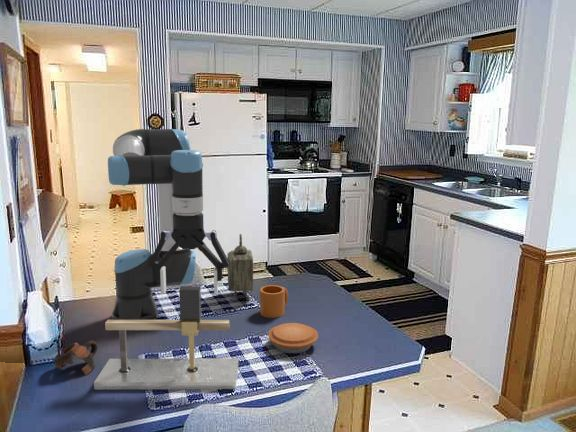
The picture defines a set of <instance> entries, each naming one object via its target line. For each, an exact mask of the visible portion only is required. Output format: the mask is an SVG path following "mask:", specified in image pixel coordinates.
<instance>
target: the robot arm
mask: <svg viewBox="0 0 576 432" xmlns="http://www.w3.org/2000/svg"><path fill="white" fill-rule="evenodd" d="M112 153H113V155H110V156H108V158H107V172H108V183H109V184H110V185H111V186H123V187H125V186H135V185H138V186H139V185H157V195H158V196H157V197H158V200H157V201H158V219H159V241H158V243H157V245H156V247H155V249H154V252H153V253H152V252H151V251H150V250H149V249H146V248H145V249H144V248H143V249H142V248H140V249H132V250H128V251H125V252H122V253H121V254H118V255H117V257H116V258H115V260H114V270H113V272H114V273H115V275H114V276H115V297H116V299H115V302H114V306H113V309H112V313H111V316H112V317H111V320H157V318H158V316H159V310H158V306H157V304H156V301H155V299H154V296H153V288H160V294H161V295H164V294H165V293H166V292H167V287H172V286H179V287H181V286H182V285H183V286H184V285H188V284H190V283H192V281H193V280H194V277H195V271H196V253H195V251H194V250H196V249H197V250H199V251H200V252H201V253H202V254H203V255H204V256H205V258H207V259H208V261H209V262H210V263H211V264H212V265H213V266H214V269H213V288H214V289H213V291H214V292H213V294H214V295H218V293H219V282H221V281H222V280H223V269H224V268H226V269H228V266H229V260H228V258H227V254H226V253H225V251H224V249H223V248H222V245H221V244H220V242H219V240H218V238H217V231H216V230H215V229H214V230H212V231H205V227H204V214H203V211H204V195H203V194H204V193H203V192H204V191H203V189H204V188H203V186H204V185H203V167H204V163H203V155H202V153H201V152H200V151H199V150H195V149H191V145H190V140H189V138H188V135H187V132H185V131H184V130H182V129H174V128H170V129H169V128H165V129H164V128H163V129H162V128H161V129H160V128H157V129H156V128H153V129H152V128H151V129H150V128H147V129H146V128H139V129H137V128H136V129H133V130H130V131H127V132H125V133H123V134H120V135H118V137H117V138H116V139H115V140H114V143H113V145H112ZM205 238H207V239H208V240H209V241H210V242H211V244H212V247H213V249H214V250H215V252H216V254H217V256H218V257H219V258H218V257H217V256H216V255H215V254H214V253H213V252H212V250H211V249H209V247H208V246H207V244H206V243H205V242H204V239H205Z"/></svg>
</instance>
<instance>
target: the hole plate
mask: <svg viewBox="0 0 576 432" xmlns="http://www.w3.org/2000/svg"><path fill="white" fill-rule="evenodd" d="M239 364H240V363H239V357H238V358H234V357H233V358H230V357H229V358H227V357H225V358H208V357H207V358H202V357H201V358H199V357H198V358H195V368H194V369H190V366H189V357H188V358H184V357H183V358H177V357H176V358H128V370H127V371H121V358H109V359H108V361H107V362H106V364H105V365H104V366H103V368H102V369H101V371H100V373H99V374H98V376H97V377H96V379H95V380H94V382H93V389H94V390H95V391H96V390H98V391H99V390H102V391H103V390H236V387H237V379H238V372H239Z"/></svg>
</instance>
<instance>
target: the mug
mask: <svg viewBox="0 0 576 432" xmlns="http://www.w3.org/2000/svg"><path fill="white" fill-rule="evenodd" d="M288 300H289V292H288V290H287V288H286V287H284V286H280V285H276V284H275V285H274V284H269V285H264V286H261V287H260V288H259V311H260V312H259V313H260V315H261V316H263V317H265V318H272V319H274V318H275V319H276V318H280V317H282V316H284V315H285V307H286V306H287V304H288Z"/></svg>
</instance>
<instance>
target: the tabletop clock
mask: <svg viewBox="0 0 576 432" xmlns="http://www.w3.org/2000/svg"><path fill="white" fill-rule="evenodd" d="M238 243H239V245H237V246H235V248H234V249H233V250H230V251H229V252H227V254H226V257H227V258H228V260H229V266H228V267H227V285H228V286H227V287H228V290H230V291H232V292H233V293H232V296H233V297H237V296H238V293H237V292H243V294H244V295H245V300H246V301H247V302H249V301H250V300H251V297H250V296H248V293H247V292H250V291H253V290H254V257H253V254H252V253H253V252H252V250H251V249H247V247H246V246H245V245H243V235H242V233H239V242H238Z"/></svg>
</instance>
